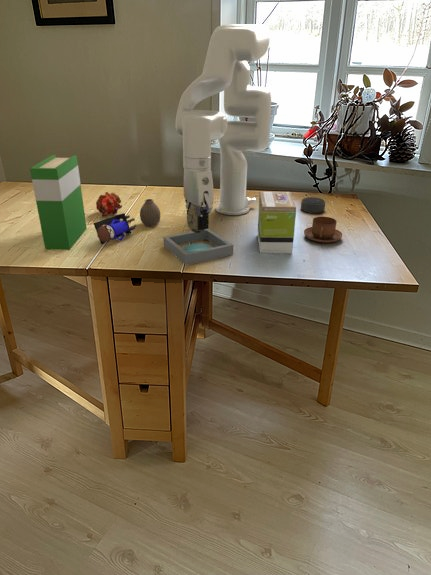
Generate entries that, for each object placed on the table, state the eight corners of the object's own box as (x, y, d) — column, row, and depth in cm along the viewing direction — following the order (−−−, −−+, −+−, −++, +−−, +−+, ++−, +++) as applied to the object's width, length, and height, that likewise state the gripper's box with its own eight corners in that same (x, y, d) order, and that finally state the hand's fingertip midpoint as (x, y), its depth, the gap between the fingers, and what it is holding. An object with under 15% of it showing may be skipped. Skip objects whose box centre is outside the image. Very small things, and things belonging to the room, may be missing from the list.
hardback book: (64, 228, 146) (52, 154, 135) (86, 228, 146) (76, 155, 135) (45, 249, 131) (29, 168, 120) (69, 249, 131) (56, 168, 119)
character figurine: (141, 235, 142) (106, 250, 132) (125, 229, 146) (89, 243, 135) (140, 213, 138) (104, 226, 128) (124, 207, 142) (87, 219, 131)
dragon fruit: (119, 212, 166) (106, 228, 156) (100, 199, 164) (85, 213, 155) (129, 197, 161) (116, 211, 151) (109, 182, 159) (95, 196, 150)
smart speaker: (322, 215, 161) (324, 204, 159) (298, 212, 164) (299, 202, 162) (325, 208, 169) (327, 198, 167) (302, 205, 171) (303, 195, 169)
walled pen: (207, 237, 141) (207, 228, 139) (233, 254, 129) (233, 244, 128) (163, 246, 134) (163, 237, 133) (186, 265, 122) (186, 255, 121)
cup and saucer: (345, 246, 136) (348, 227, 133) (306, 245, 136) (308, 226, 133) (336, 232, 147) (339, 214, 144) (300, 231, 147) (302, 213, 144)
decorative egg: (203, 237, 125) (203, 203, 121) (184, 234, 127) (183, 201, 122) (210, 230, 130) (210, 197, 126) (192, 227, 132) (191, 195, 127)
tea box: (256, 234, 143) (259, 190, 136) (287, 235, 143) (291, 190, 136) (258, 253, 130) (262, 205, 123) (292, 254, 130) (297, 206, 123)
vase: (157, 229, 147) (155, 203, 143) (137, 227, 148) (135, 202, 144) (163, 222, 153) (162, 197, 149) (144, 220, 154) (142, 196, 150)
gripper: (225, 167, 114) (223, 232, 123) (194, 155, 127) (195, 215, 136) (199, 170, 111) (200, 237, 119) (171, 158, 124) (173, 218, 133)
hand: (197, 225), depth 128 cm, fingers closed on decorative egg, 6 cm apart
